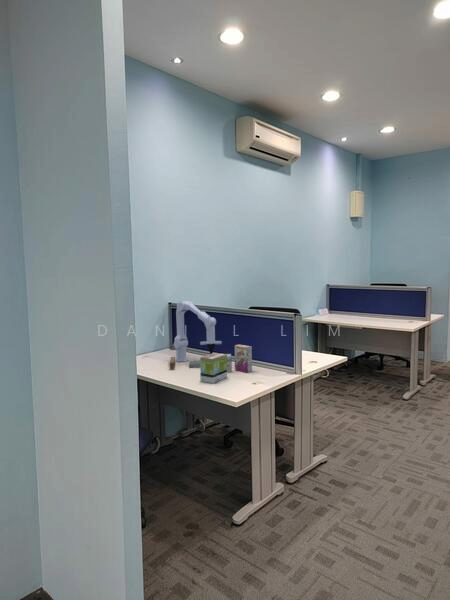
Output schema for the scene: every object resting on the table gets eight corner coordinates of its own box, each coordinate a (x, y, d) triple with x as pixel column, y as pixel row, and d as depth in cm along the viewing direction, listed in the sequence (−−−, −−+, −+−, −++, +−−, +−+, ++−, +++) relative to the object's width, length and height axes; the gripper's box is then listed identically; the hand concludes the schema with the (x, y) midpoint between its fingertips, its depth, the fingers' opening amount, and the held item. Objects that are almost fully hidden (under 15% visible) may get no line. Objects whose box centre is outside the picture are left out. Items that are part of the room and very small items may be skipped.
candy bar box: (234, 370, 256) (233, 345, 254) (239, 368, 259) (239, 344, 258) (247, 372, 248) (247, 347, 247) (252, 371, 252) (252, 346, 250)
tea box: (214, 383, 226) (213, 358, 225) (200, 381, 232) (199, 356, 230) (227, 377, 239) (227, 353, 238) (214, 375, 244) (213, 352, 243)
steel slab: (189, 365, 273) (189, 360, 273) (203, 364, 274) (203, 360, 273) (189, 368, 263) (189, 364, 263) (204, 368, 264) (204, 363, 263)
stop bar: (171, 364, 275) (170, 357, 274) (175, 363, 275) (175, 356, 274) (169, 370, 259) (169, 362, 258) (174, 369, 259) (174, 362, 259)
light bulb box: (231, 369, 256) (231, 353, 256) (231, 372, 250) (230, 356, 249) (215, 369, 258) (215, 353, 257) (214, 372, 251) (214, 355, 250)
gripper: (200, 336, 263) (200, 356, 264) (221, 335, 264) (222, 355, 265) (200, 334, 270) (200, 354, 271) (220, 334, 271) (221, 353, 272)
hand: (211, 354), depth 268 cm, fingers closed
